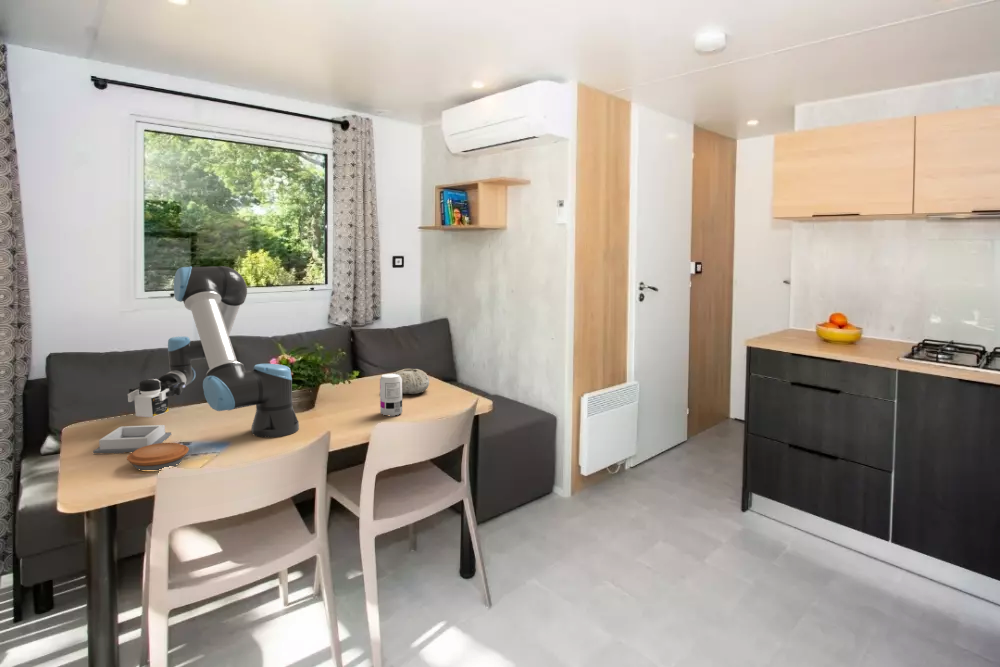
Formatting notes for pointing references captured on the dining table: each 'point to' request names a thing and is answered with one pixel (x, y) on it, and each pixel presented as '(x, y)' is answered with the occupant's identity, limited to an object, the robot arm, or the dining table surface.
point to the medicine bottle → (150, 399)
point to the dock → (132, 438)
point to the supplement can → (391, 394)
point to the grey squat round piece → (413, 381)
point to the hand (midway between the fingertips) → (145, 397)
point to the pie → (158, 456)
